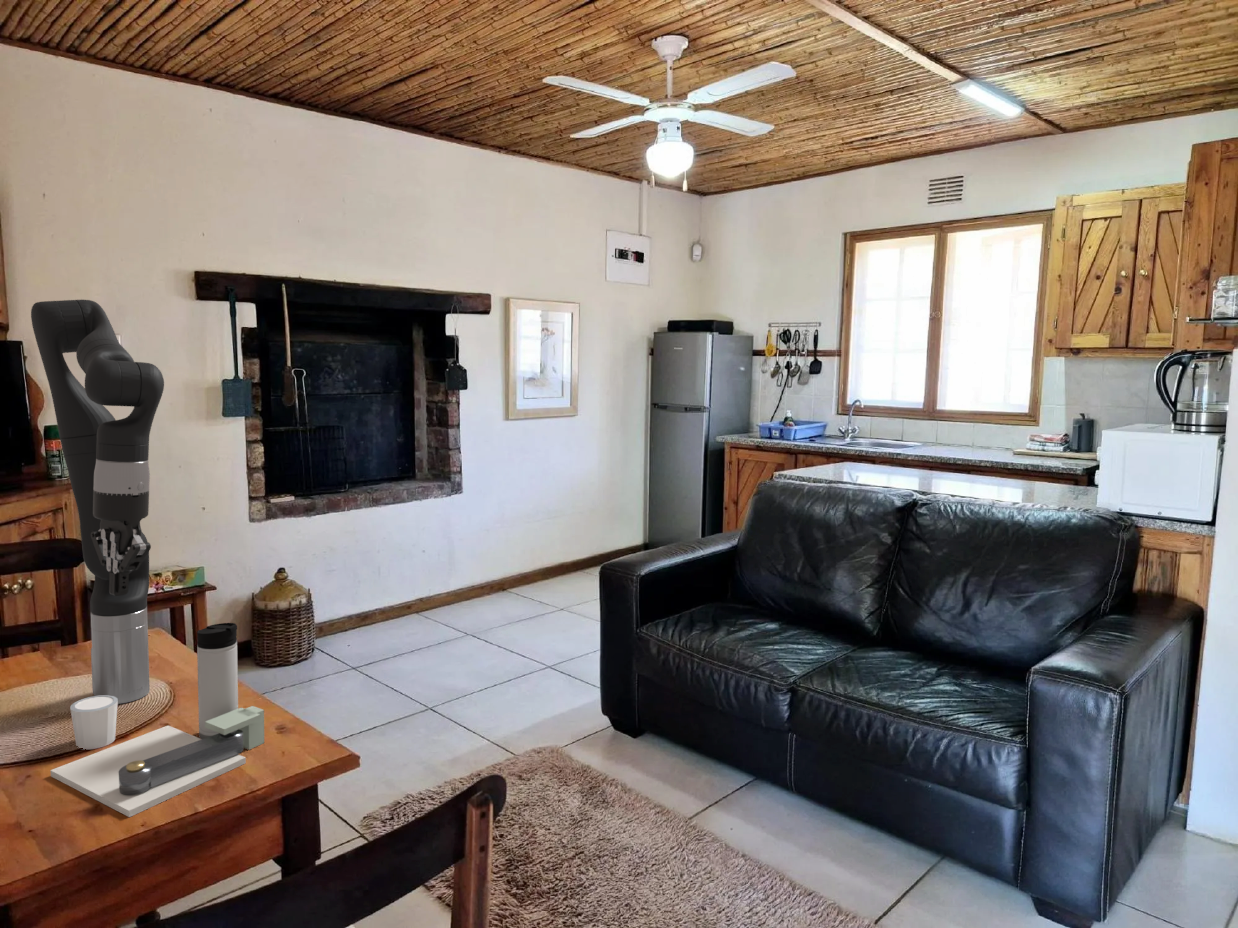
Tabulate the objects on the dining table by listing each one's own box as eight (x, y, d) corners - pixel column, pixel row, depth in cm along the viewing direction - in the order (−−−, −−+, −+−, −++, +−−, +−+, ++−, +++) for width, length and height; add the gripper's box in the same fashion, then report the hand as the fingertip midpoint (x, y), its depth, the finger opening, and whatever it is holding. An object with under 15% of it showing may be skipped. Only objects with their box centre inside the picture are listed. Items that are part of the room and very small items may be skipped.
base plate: (50, 776, 127) (50, 770, 127) (168, 730, 143) (168, 725, 143) (129, 817, 117) (129, 810, 117) (245, 763, 133) (245, 757, 133)
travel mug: (224, 744, 139) (222, 632, 137) (190, 739, 140) (188, 628, 138) (247, 728, 145) (246, 621, 143) (215, 723, 147) (213, 617, 144)
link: (127, 798, 119) (126, 774, 119) (113, 788, 122) (113, 765, 121) (249, 751, 135) (248, 730, 134) (234, 743, 137) (234, 722, 137)
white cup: (113, 728, 143) (112, 691, 142) (124, 742, 138) (122, 703, 137) (67, 740, 138) (65, 701, 137) (76, 755, 134) (74, 714, 133)
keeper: (205, 755, 135) (205, 721, 134) (249, 736, 142) (248, 704, 142) (224, 763, 133) (224, 729, 132) (268, 744, 140) (267, 711, 139)
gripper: (73, 483, 128) (70, 589, 129) (121, 496, 121) (118, 608, 123) (121, 480, 134) (118, 581, 136) (170, 492, 128) (166, 598, 130)
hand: (118, 594), depth 130 cm, fingers closed
